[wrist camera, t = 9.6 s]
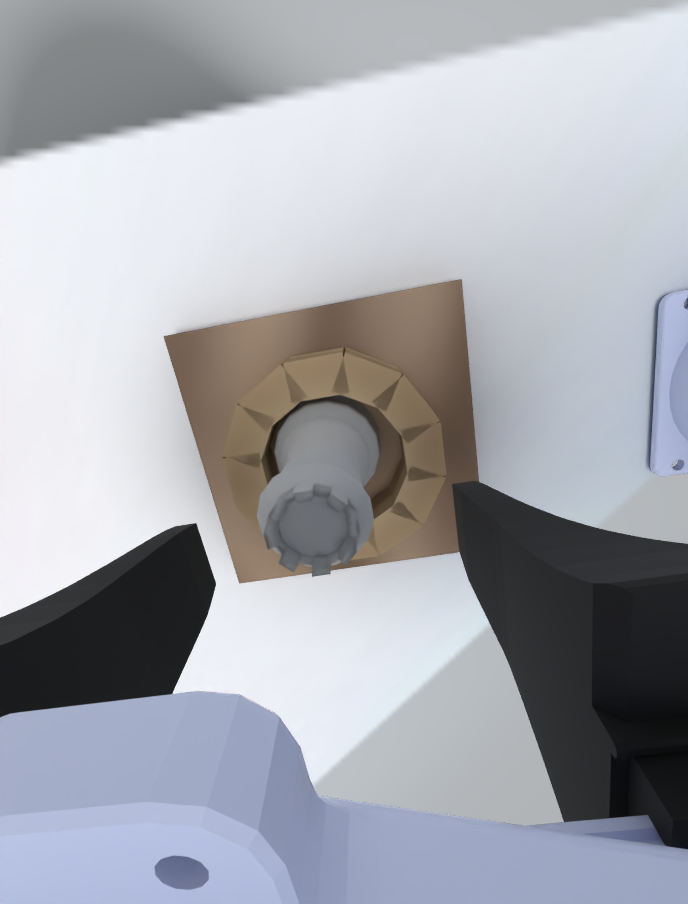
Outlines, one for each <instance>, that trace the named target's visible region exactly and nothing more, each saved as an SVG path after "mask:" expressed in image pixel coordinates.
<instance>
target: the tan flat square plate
mask: <svg viewBox="0 0 688 904" xmlns="http://www.w3.org/2000/svg"><path fill="white" fill-rule="evenodd" d="M164 339H165V342H166V346H167V349H168V352H169V355H170V359H171V362H172V365H173V368H174V372H175V375H176V378H177V382H178V385H179V388H180V391H181V395H182V398H183V401H184V404H185V408H186V411H187V414H188V417H189V421H190V424H191V427H192V430H193V434H194V437H195V440H196V444H197V447H198V450H199V453H200V457H201V460H202V463H203V466H204V470H205V473H206V476H207V479H208V483H209V486H210V489H211V492H212V496H213V499H214V502H215V506H216V509H217V512H218V515H219V519H220V522H221V525H222V528H223V532H224V535H225V538H226V541H227V545H228V548H229V551H230V555H231V558H232V561H233V564H234V568H235V571H236V574H237V577H238V581H239V583H246V582H253V581H260V580H267V579H274V578H281V577H288V576H295V575H302V574H309V573H312V567H310V566H305V565H300V564H298V566H297V568H296V570H295V572H292V571H290V570H289V569H287V568H285V567H284V566H282V565H280V564H279V560H280V557H281V555H279V554H278V553H276V552H275V551H274V550H273V549H272V548H271V549H267V545H266V541H265V538H264V537H263V536H262V533H261V529H260V526H259V522H258V518H257V511H258V506H259V500H260V495H261V493H262V492H263V491H264V489H265V488H266V486H267V485H268V484H269V482H270V481H271V479H272V478H273V477H274V476H276V475H278V474H279V473H280V472H279V469H278V465H277V461H276V456H275V452H274V447H275V441H276V436H277V430H278V429H279V424H280V422H281V421H282V419H283V418H284V416H285V415H286V414H287V413H288V412H289V411H290V410H291V409H293V408H294V407H295V406H296V405H297V404H299V403H300V402H301V401H306V400H312V399H318V398H323V397H329V396H335V395H341V396H346V397H349V398H351V399H353V400H354V401H356V402H357V403H359V404H360V405H361V406H363V407H364V408H366V409H367V410H368V412H369V413H370V415H371V416H372V418H373V420H374V421H375V423H376V424H377V426H378V430H379V436H380V443H381V449H380V452H381V454H380V457H379V461H378V465H377V469H376V472H375V473H374V475H373V476H372V477H371V479H370V480H369V481H368V482H367V484H366V485H365V486H364V487H363V488H364V490H365V491H366V493H367V494H368V496H369V497H370V499H371V504H372V510H373V516H374V521H373V525H372V528H371V532H370V535H369V539H368V540H367V541H366V542H365V544H364V545H363V546H362V547H361V548H360V550H359V551H358V552H357V553H356V554H355V555H354V556H353V558H352V559H351V560H350V561H349V562H348V564H347V565H344V564H343V563H342V562H341V563H339V564H337V565H331V570H337V569H344V568H351V567H358V566H365V565H372V564H379V563H386V562H393V561H400V560H408V559H415V558H422V557H429V556H436V555H443V554H450V553H457V552H460V551H459V545H458V536H457V527H456V517H455V508H454V499H453V489H452V484H456V483H463V482H469V481H478V482H479V478H478V466H477V455H476V443H475V431H474V419H473V408H472V396H471V384H470V373H469V361H468V349H467V337H466V326H465V314H464V302H463V290H462V279H460V280H455V281H450V282H444V283H439V284H434V285H429V286H424V287H418V288H413V289H408V290H403V291H398V292H392V293H387V294H382V295H377V296H371V297H366V298H361V299H356V300H351V301H345V302H340V303H335V304H330V305H324V306H319V307H314V308H309V309H304V310H298V311H293V312H288V313H283V314H277V315H272V316H267V317H262V318H257V319H251V320H246V321H241V322H236V323H231V324H225V325H220V326H215V327H210V328H204V329H199V330H194V331H189V332H184V333H178V334H173V335H168V336H164Z"/></svg>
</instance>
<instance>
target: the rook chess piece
mask: <svg viewBox="0 0 688 904" xmlns="http://www.w3.org/2000/svg"><path fill="white" fill-rule="evenodd" d="M380 449H381V443H380V436H379V430H378V426H377V424H376V423H375V421H374V420H373V418H372V416H371V415H370V413H369V412H368V410H367V409H366V408H364V407H363V406H361V405H360V404H359V403H357V402H356V401H354V400H353V399H351V398H349V397H346V396H341V395H335V396H329V397H323V398H318V399H312V400H306V401H301V402H300V403H299V404H297V405H296V406H295V407H294V408H293V409H291V410H290V411H289V412H288V413H287V414H286V415H285V416H284V418H283V419H282V421H281V422H280V424H279V429H278V430H277V436H276V441H275V447H274V452H275V456H276V461H277V465H278V469H279V472H280V473H279V474H278V475H276V476H274V477H273V478H272V479H271V481H270V482H269V484H268V485H267V486H266V488H265V489H264V491H263V492H262V493H261V495H260V500H259V506H258V511H257V518H258V522H259V526H260V529H261V533H262V536H263V537H264V538H265V541H266V545H267V549H271V548H272V549H273V550H274V551H275V552H276V553H278V554H279V555H281V557H280V560H279V564H280V565H282V566H284V567H285V568H287V569H289V570H290V571H292V572H295V570H296V568H297V566H298V564H300V565H305V566H310V567H312V576H319V575H326V574H330V570H331V565H337V564H339V563H341V562H342V563H343V564H344V565H347V564H348V562H349V561H350V560H351V559H352V558H353V556H354V555H355V554H356V553H357V552H358V551H359V550H360V548H361V547H362V546H363V545H364V544H365V542H366V541H367V540H368V539H369V535H370V532H371V528H372V525H373V521H374V516H373V510H372V504H371V499H370V497H369V496H368V494H367V493H366V491H365V490H364V488H363V487H364V486H365V485H366V484H367V482H368V481H369V480H370V479H371V477H372V476H373V475H374V473H375V472H376V469H377V465H378V461H379V457H380V454H381V452H380Z"/></svg>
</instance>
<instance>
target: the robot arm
mask: <svg viewBox="0 0 688 904" xmlns="http://www.w3.org/2000/svg"><path fill="white" fill-rule="evenodd" d="M687 298H688V290H683V291H678V292H672V293H670V294H667V295H666V296H665V297H663V299H662V300H661V302H660V304H659V310H658V329H657V347H656V366H655V384H654V403H653V421H652V440H651V458H650V468H651V470H652V472H653V473H655V474H657V475H659V476H671V475H678V474H685V473H688V307H687V308H686V309H685V308H684V302H685V300H686V299H687ZM676 460H678V463H677V464H676V465H675V466H674V467H672V465H673V463H674V462H675V461H676ZM452 489H453V499H454V508H455V517H456V527H457V536H458V545H459V551H460V555H461V558H462V561H463V564H464V567H465V570H466V573H467V576H468V579H469V581H470V584H471V586H472V588H473V590H474V592H475V594H476V596H477V598H478V600H479V602H480V604H481V606H482V608H483V610H484V612H485V614H486V617H487V619H488V621H489V623H490V625H491V627H492V629H493V630H494V633H495V635H496V637H497V639H498V641H499V643H500V645H501V647H502V649H503V651H504V653H505V656H506V658H507V660H508V663H509V665H510V668H511V670H512V673H513V676H514V679H515V681H516V684H517V687H518V690H519V692H520V695H521V698H522V700H523V703H524V706H525V709H526V712H527V714H528V717H529V720H530V723H531V726H532V729H533V732H534V734H535V737H536V740H537V743H538V746H539V749H540V751H541V754H542V757H543V760H544V763H545V766H546V769H547V772H548V775H549V778H550V781H551V784H552V787H553V790H554V793H555V796H556V799H557V802H558V805H559V808H560V811H561V814H562V817H563V820H564V822H561V823H550V824H538V825H527V826H523V825H516V824H509V823H503V822H496V821H489V820H482V819H475V818H468V817H461V816H455V815H448V814H441V813H434V812H427V811H420V810H412V809H406V808H400V807H392V806H385V805H379V804H372V803H365V802H358V801H352V800H345V799H338V798H331V797H324V796H319V795H317V793H316V792H315V790H314V788H313V785H312V783H311V781H310V778H309V775H308V771H307V768H306V765H305V761H304V758H303V755H302V751H301V748H300V746H299V745H298V743H297V742H296V740H295V739H294V737H293V736H292V734H291V733H290V731H289V730H288V729H287V727H286V726H285V724H284V723H283V721H282V720H281V718H280V717H279V716H278V715H277V714H275V713H274V712H272V711H270V710H268V709H266V708H264V707H262V706H261V705H259V704H257V703H255V702H253V701H251V700H249V699H247V698H245V697H243V696H241V695H240V694H228V693H216V692H204V691H194V692H186V693H178V694H172V693H173V691H174V688H175V686H176V684H177V682H178V680H179V677H180V675H181V673H182V671H183V669H184V666H185V664H186V662H187V660H188V658H189V655H190V653H191V651H192V649H193V647H194V644H195V642H196V640H197V638H198V636H199V633H200V631H201V629H202V627H203V624H204V622H205V620H206V617H207V615H208V611H209V608H210V605H211V601H212V598H213V594H214V590H215V586H216V582H215V579H214V576H213V573H212V570H211V567H210V564H209V561H208V558H207V555H206V552H205V549H204V546H203V543H202V540H201V537H200V533H199V530H198V527H197V524H196V523H195V524H188V525H182V526H175V527H173V528H170V529H168V530H166V531H164V532H162V533H160V534H158V535H156V536H155V537H153V538H151V539H149V540H148V541H146V542H144V543H143V544H141V545H139V546H138V547H136V548H134V549H133V550H131V551H129V552H128V553H126V554H124V555H123V556H121V557H119V558H118V559H116V560H114V561H113V562H111V563H109V564H107V565H106V566H104V567H102V568H100V569H98V570H97V571H95V572H93V573H91V574H90V575H88V576H86V577H84V578H83V579H81V580H79V581H77V582H76V583H74V584H72V585H70V586H68V587H66V588H64V589H62V590H60V591H58V592H56V593H54V594H52V595H50V596H48V597H46V598H44V599H42V600H40V601H38V602H36V603H34V604H31V605H29V606H27V607H25V608H23V609H20V610H18V611H15V612H13V613H11V614H8V615H6V616H3V617H1V618H0V904H688V544H684V543H675V542H667V541H660V540H653V539H647V538H641V537H636V536H631V535H626V534H621V533H616V532H611V531H607V530H603V529H599V528H595V527H591V526H587V525H584V524H581V523H577V522H574V521H570V520H567V519H564V518H561V517H558V516H555V515H553V514H550V513H547V512H545V511H542V510H540V509H537V508H534V507H532V506H530V505H527V504H525V503H523V502H521V501H518V500H516V499H514V498H512V497H510V496H508V495H505V494H503V493H501V492H499V491H497V490H495V489H493V488H491V487H489V486H487V485H485V484H483V483H480V482H478V481H469V482H463V483H456V484H452Z"/></svg>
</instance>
